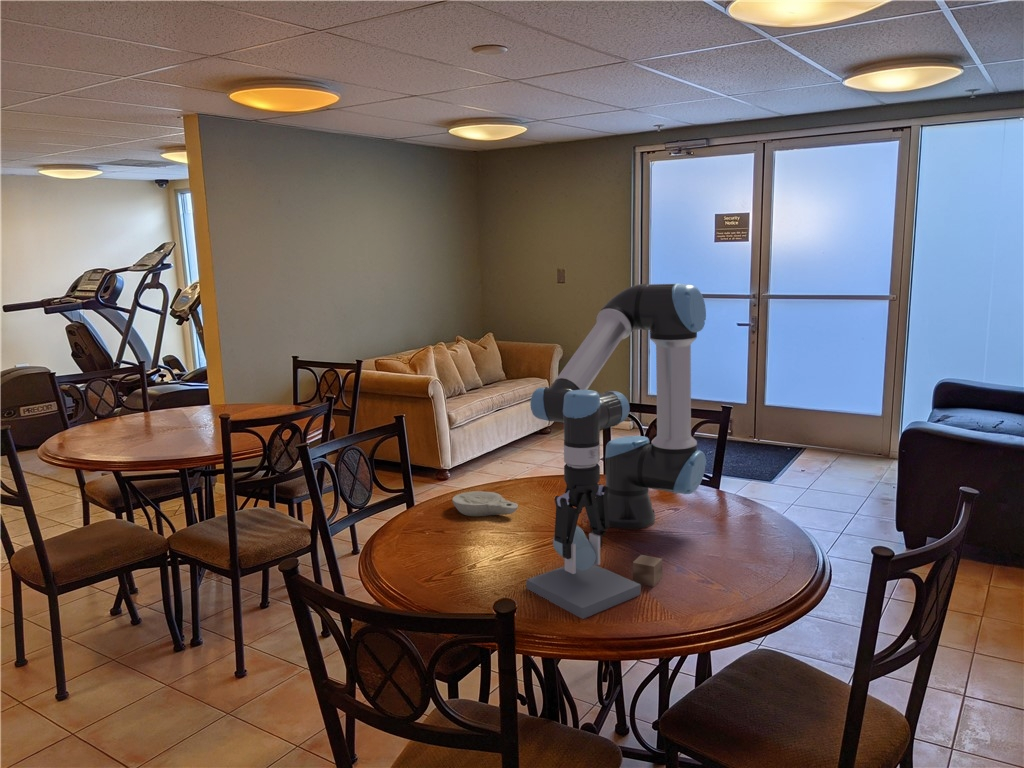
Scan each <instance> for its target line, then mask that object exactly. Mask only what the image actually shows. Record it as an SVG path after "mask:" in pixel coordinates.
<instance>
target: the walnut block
mask: <svg viewBox="0 0 1024 768" xmlns="http://www.w3.org/2000/svg"><path fill="white" fill-rule="evenodd" d="M662 579H663V558H660V557H655V556H650V555H645V554H640V555H639V556H638V557H637V558H636V559H635V560H634V561H632V581H634V582H636V583H638V584H641V585H644V586H649V587H652V588H655V586H656V585H658V583H659V582H660V581H661V580H662Z"/></svg>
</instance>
